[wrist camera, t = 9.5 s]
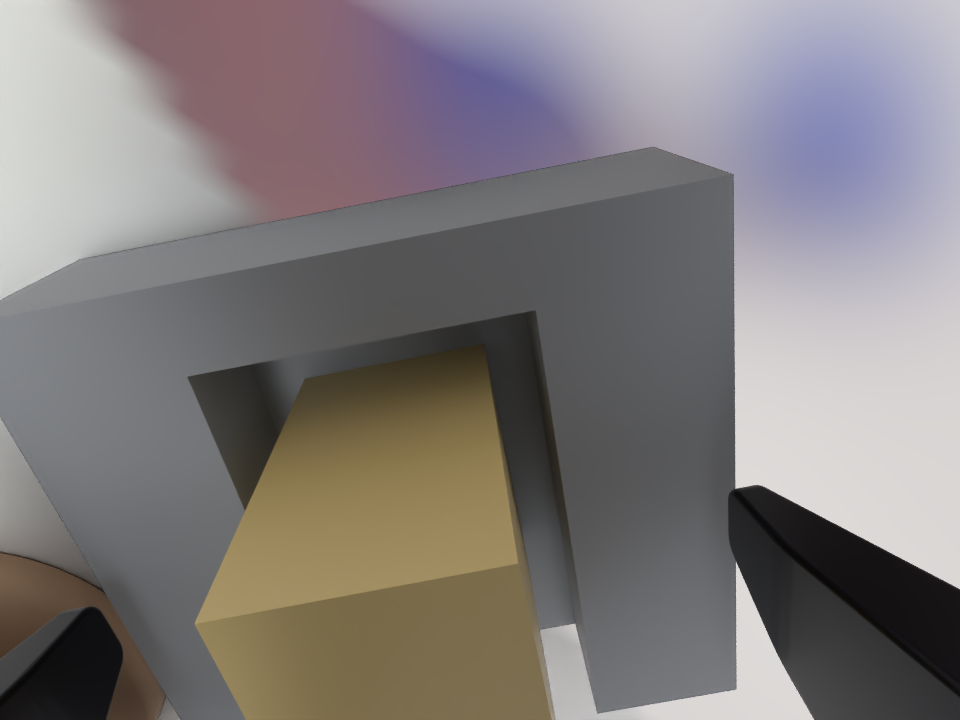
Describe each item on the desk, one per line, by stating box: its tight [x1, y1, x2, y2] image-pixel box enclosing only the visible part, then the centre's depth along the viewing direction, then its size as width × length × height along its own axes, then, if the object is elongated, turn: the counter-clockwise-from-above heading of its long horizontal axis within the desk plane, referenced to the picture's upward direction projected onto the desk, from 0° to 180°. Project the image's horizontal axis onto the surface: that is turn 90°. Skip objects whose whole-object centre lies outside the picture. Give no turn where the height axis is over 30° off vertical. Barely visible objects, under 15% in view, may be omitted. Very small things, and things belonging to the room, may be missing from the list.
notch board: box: [0, 147, 736, 720], centre depth 11 cm, size 9×10×3 cm
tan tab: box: [195, 343, 555, 720], centre depth 9 cm, size 4×3×5 cm
